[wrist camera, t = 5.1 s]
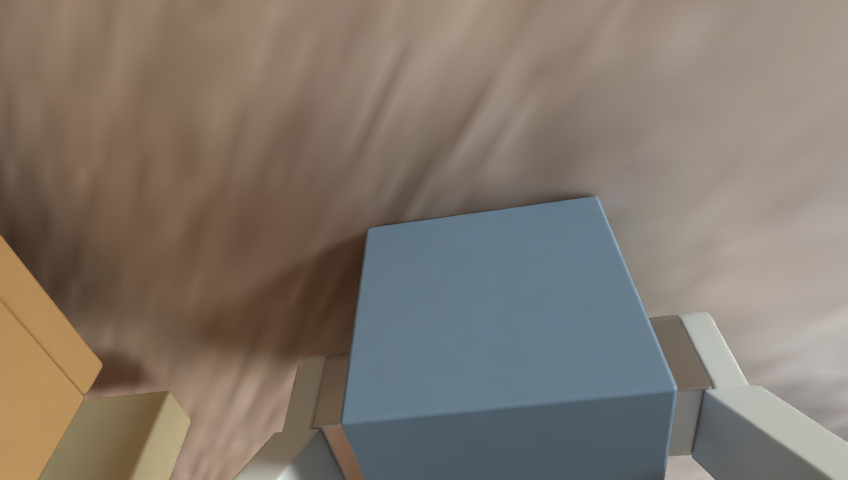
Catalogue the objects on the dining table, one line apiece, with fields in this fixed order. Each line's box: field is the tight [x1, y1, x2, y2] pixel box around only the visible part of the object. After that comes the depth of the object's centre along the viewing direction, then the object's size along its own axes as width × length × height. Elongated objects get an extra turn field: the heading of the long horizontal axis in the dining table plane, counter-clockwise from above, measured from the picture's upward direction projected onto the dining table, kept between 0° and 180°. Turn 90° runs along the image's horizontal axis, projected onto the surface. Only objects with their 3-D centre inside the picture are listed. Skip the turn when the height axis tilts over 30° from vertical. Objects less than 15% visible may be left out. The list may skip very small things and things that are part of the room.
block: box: [340, 196, 677, 480], centre depth 10 cm, size 4×4×4 cm
